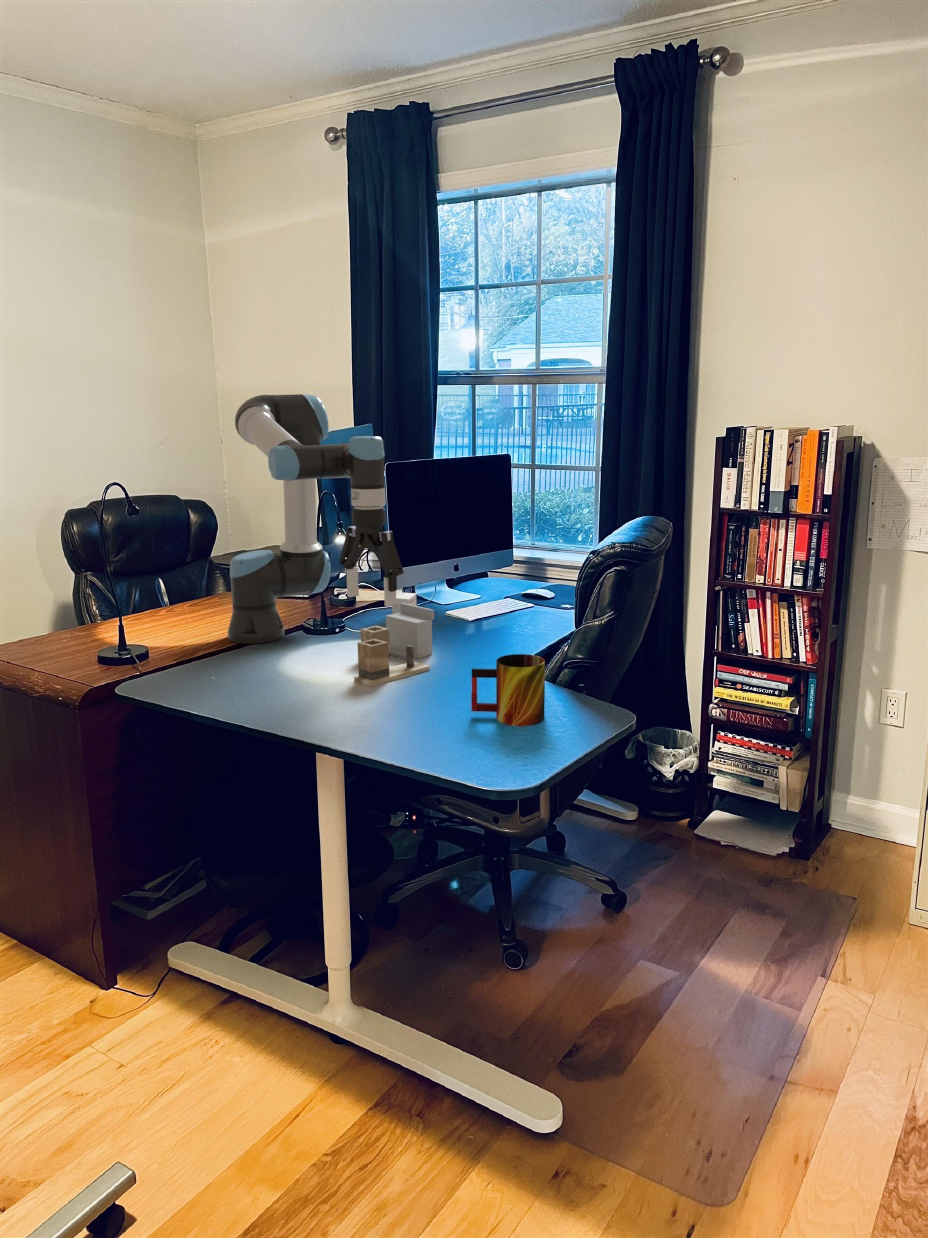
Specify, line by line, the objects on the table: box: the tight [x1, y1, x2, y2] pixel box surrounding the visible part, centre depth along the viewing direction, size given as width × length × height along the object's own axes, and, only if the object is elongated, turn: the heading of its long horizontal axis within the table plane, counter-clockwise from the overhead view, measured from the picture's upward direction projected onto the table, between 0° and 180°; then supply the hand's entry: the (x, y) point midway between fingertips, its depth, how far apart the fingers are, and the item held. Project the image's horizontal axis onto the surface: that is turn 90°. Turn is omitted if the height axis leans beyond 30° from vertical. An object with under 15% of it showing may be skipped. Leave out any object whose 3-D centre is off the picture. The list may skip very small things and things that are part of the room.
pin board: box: [353, 645, 431, 687], centre depth 209 cm, size 6×18×6 cm, turn 134°
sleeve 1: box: [360, 625, 391, 661], centre depth 222 cm, size 5×5×8 cm
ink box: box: [391, 592, 417, 614], centre depth 243 cm, size 9×5×12 cm, turn 168°
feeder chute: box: [385, 603, 435, 661], centre depth 228 cm, size 12×9×11 cm
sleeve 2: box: [357, 639, 390, 681], centre depth 205 cm, size 5×5×8 cm
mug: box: [470, 653, 546, 727], centre depth 178 cm, size 10×14×12 cm
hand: (371, 600), depth 204 cm, fingers open, 13 cm apart
